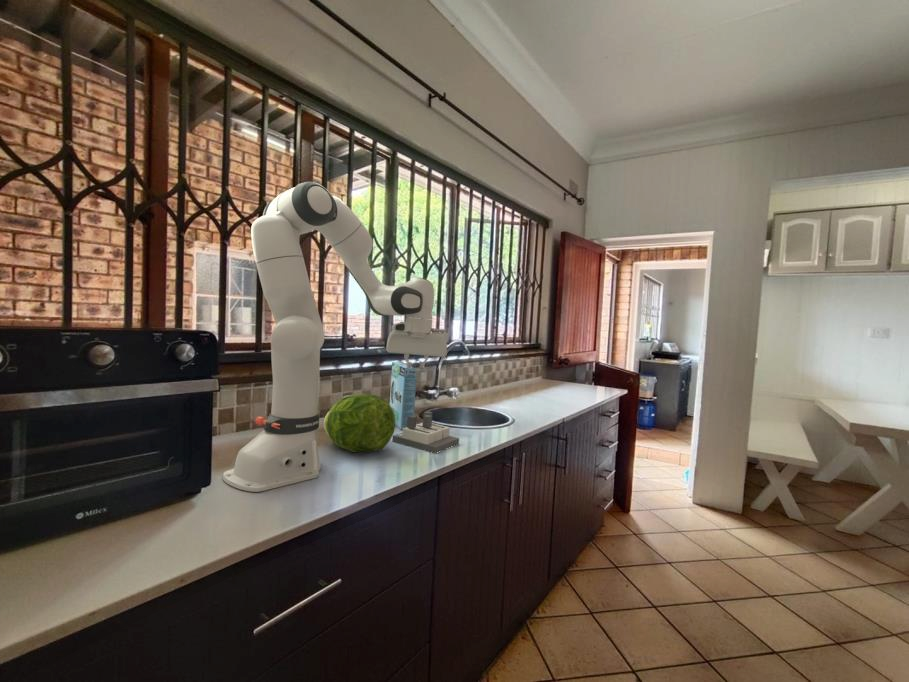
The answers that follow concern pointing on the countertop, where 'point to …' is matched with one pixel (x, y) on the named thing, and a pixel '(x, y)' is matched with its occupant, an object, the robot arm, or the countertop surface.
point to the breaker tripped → (427, 421)
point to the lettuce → (360, 423)
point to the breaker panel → (427, 447)
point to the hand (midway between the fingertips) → (415, 368)
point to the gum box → (402, 392)
